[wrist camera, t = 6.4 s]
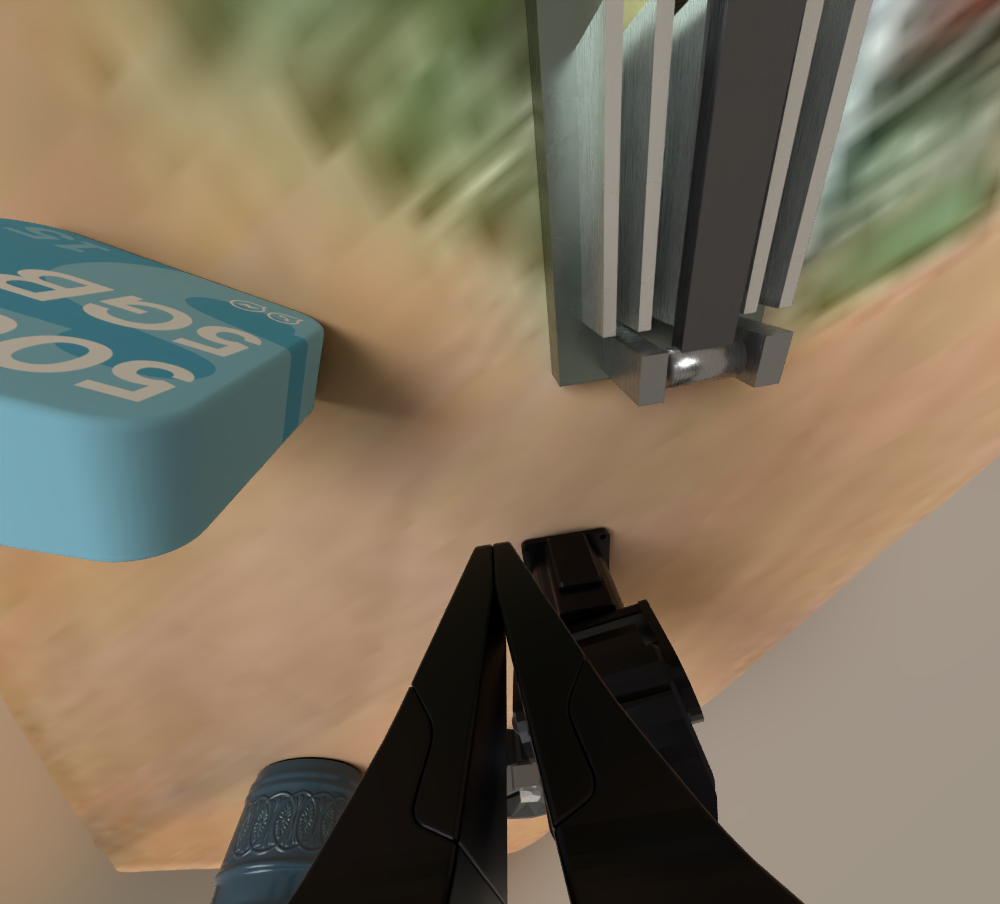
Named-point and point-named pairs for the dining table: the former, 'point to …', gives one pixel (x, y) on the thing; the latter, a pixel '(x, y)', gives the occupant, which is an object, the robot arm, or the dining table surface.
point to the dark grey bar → (729, 180)
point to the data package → (134, 395)
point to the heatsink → (663, 177)
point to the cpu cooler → (522, 782)
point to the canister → (283, 829)
